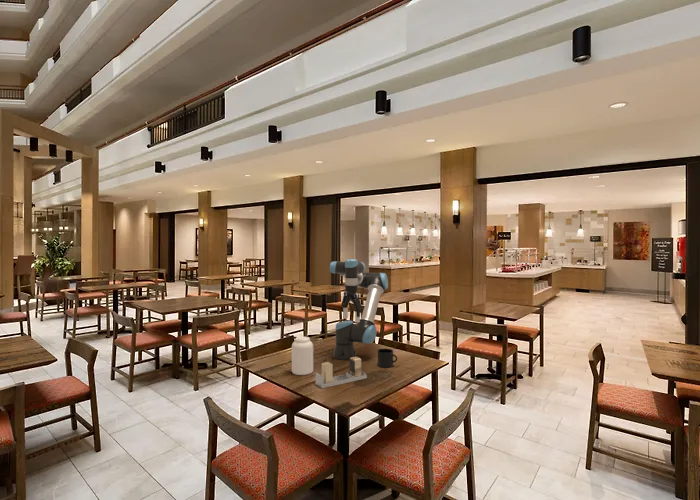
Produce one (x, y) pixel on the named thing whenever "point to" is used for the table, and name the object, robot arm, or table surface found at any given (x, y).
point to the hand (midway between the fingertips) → (351, 320)
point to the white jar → (302, 356)
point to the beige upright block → (355, 366)
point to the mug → (386, 358)
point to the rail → (335, 377)
